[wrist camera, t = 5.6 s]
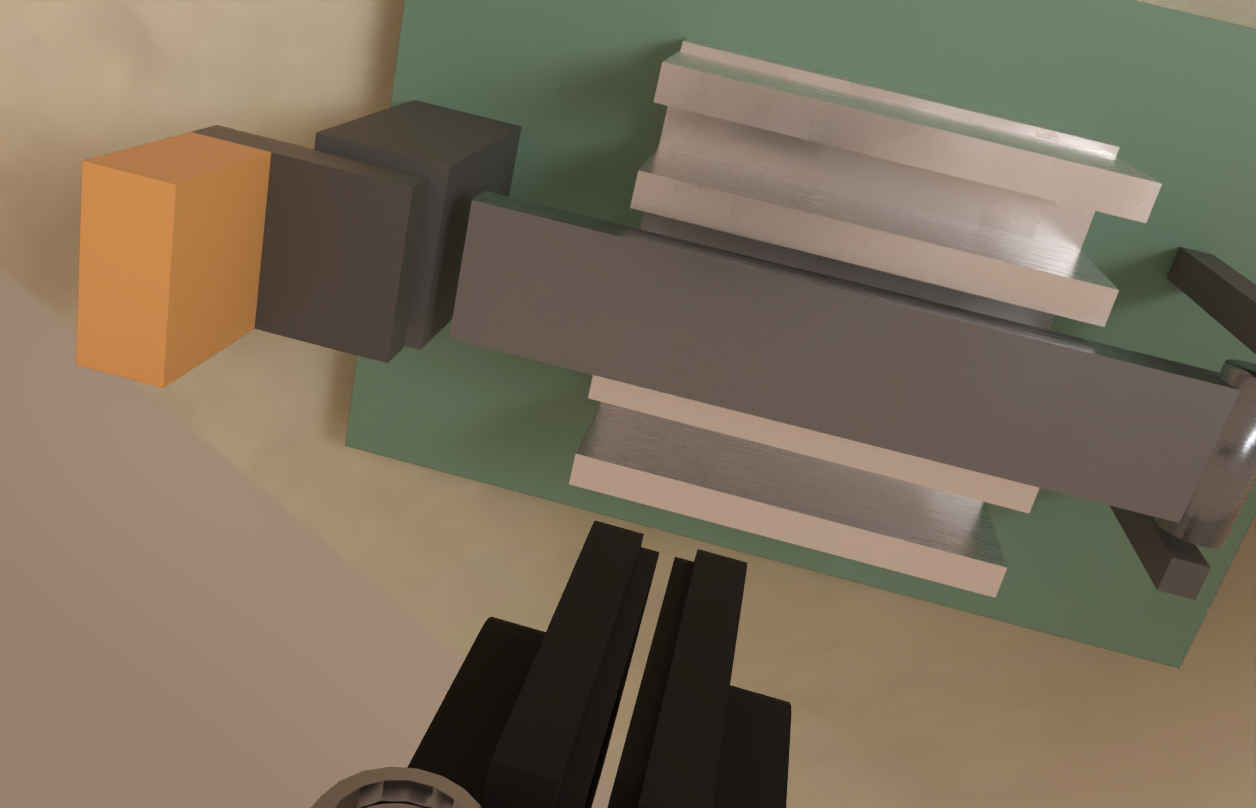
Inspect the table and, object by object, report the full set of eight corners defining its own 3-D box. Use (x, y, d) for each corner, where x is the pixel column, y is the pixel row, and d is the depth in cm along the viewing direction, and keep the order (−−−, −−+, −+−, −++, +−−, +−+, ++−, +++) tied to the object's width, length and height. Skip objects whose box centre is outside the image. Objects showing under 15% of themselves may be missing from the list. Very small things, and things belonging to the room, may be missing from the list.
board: (1433, 73, 26) (1669, 112, 19) (1163, 638, 32) (1265, 830, 25) (445, -159, 28) (318, -204, 20) (364, 426, 34) (243, 550, 27)
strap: (1283, 370, 23) (1312, 394, 22) (1210, 523, 24) (1234, 554, 23) (489, 175, 24) (472, 187, 22) (461, 334, 25) (443, 354, 24)
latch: (429, 179, 22) (342, 227, 18) (403, 347, 24) (317, 429, 19) (216, 125, 22) (82, 160, 18) (203, 295, 24) (76, 364, 20)
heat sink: (1103, 137, 26) (1165, 173, 22) (963, 508, 30) (992, 604, 26) (689, 37, 27) (664, 51, 22) (603, 413, 31) (567, 491, 26)
